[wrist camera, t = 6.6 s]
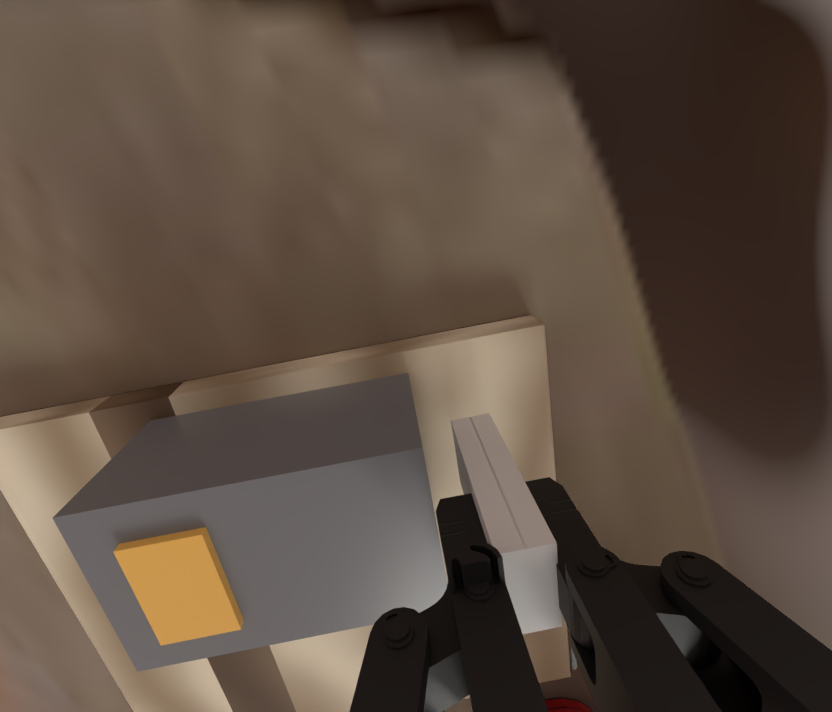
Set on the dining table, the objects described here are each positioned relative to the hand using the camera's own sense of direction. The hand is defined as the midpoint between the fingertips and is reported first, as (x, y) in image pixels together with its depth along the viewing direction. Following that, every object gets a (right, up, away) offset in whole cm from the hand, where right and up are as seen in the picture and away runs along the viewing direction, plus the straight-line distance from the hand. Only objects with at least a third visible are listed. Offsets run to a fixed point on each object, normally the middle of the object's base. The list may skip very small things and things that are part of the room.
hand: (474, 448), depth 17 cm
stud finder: (-7, -1, +1) cm, 7 cm away
